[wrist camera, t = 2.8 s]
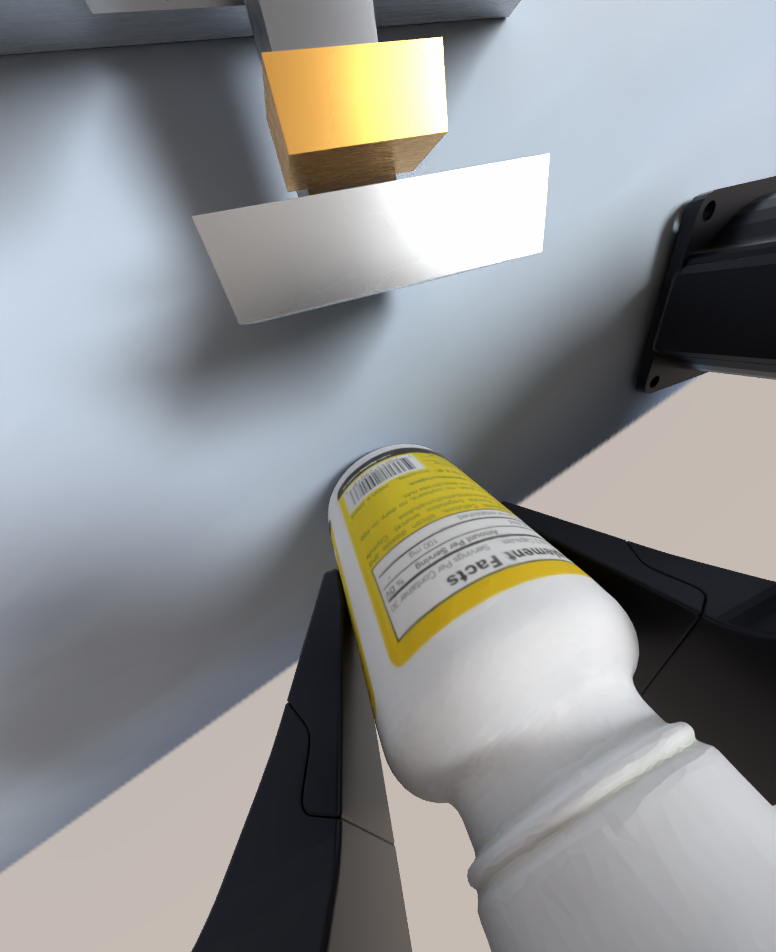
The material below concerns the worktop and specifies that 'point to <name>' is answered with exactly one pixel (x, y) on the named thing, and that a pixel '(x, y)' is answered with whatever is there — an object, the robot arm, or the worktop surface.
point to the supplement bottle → (540, 727)
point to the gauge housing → (183, 20)
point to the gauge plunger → (361, 172)
